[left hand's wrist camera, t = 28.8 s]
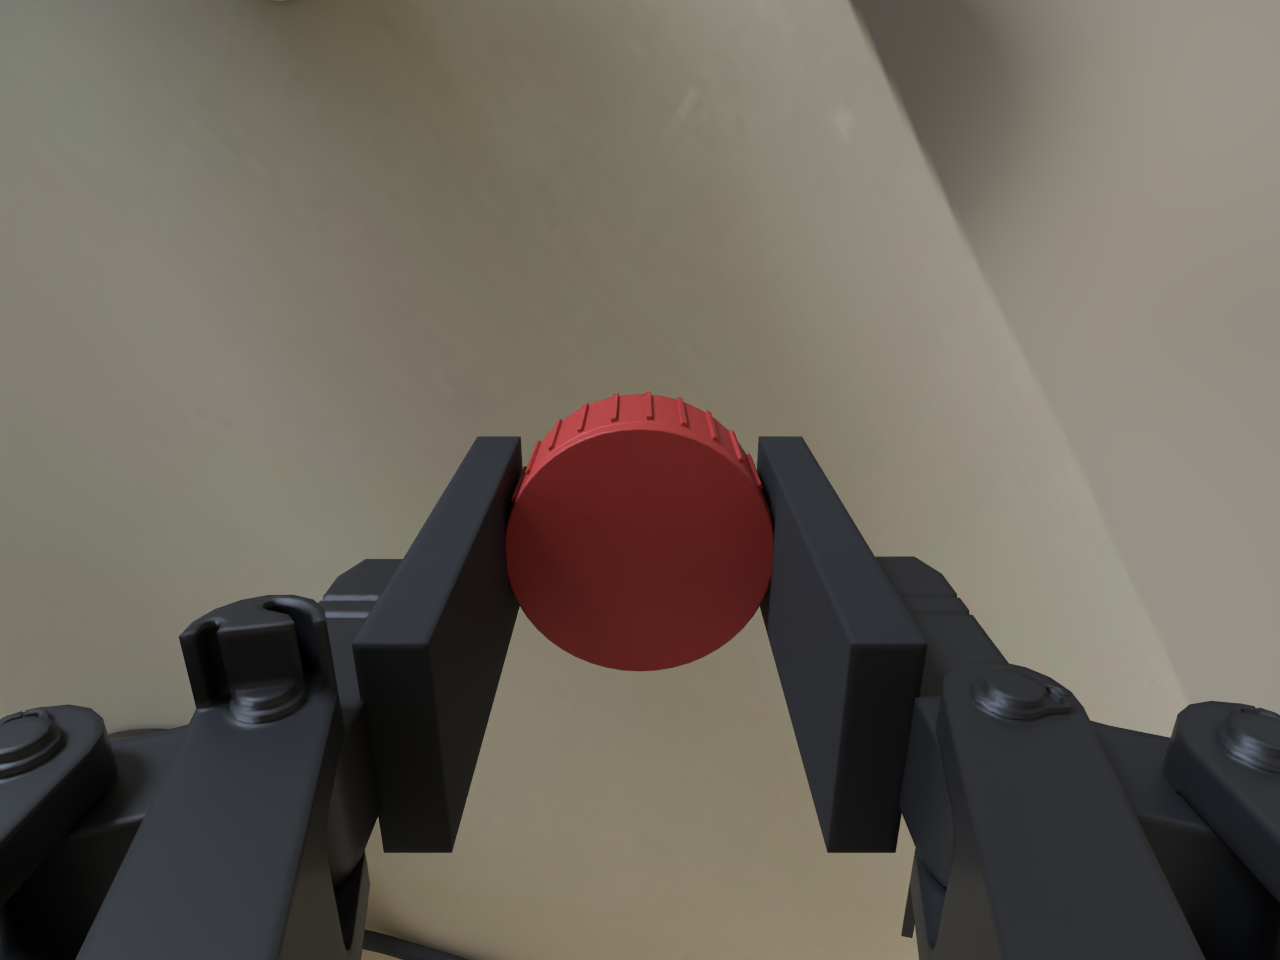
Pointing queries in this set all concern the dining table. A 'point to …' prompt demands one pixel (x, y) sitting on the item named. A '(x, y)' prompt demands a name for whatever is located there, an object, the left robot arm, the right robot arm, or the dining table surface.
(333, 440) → the dining table surface
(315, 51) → the dining table surface
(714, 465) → the cap
